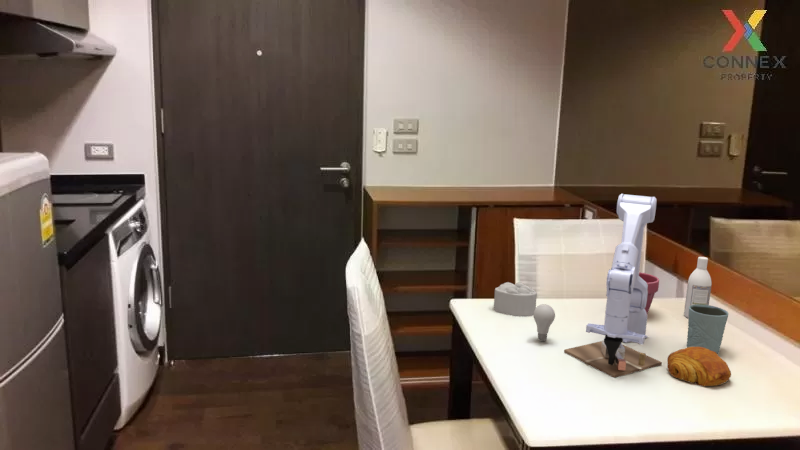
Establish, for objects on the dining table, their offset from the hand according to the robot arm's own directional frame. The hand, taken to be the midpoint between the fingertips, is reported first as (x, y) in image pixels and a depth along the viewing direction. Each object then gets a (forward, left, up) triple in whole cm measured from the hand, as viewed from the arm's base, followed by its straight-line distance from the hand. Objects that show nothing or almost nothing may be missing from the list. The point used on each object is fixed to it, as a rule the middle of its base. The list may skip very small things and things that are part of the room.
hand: (611, 363), depth 175 cm
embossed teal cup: (-34, +3, -2) cm, 34 cm away
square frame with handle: (-3, -1, 0) cm, 3 cm away
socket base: (-5, -4, -1) cm, 7 cm away
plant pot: (-39, -27, -2) cm, 48 cm away
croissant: (-18, +13, -2) cm, 22 cm away
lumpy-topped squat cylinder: (-6, -46, -2) cm, 47 cm away
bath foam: (-56, -16, -2) cm, 59 cm away
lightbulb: (+4, -22, -2) cm, 23 cm away
